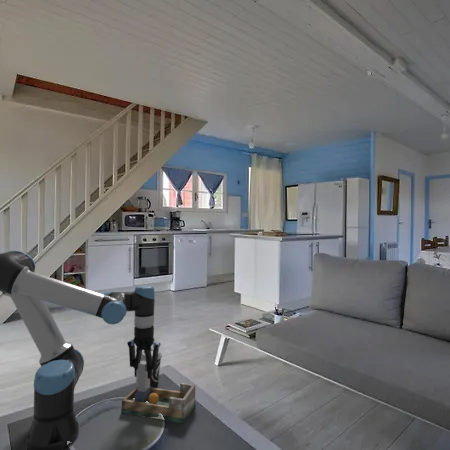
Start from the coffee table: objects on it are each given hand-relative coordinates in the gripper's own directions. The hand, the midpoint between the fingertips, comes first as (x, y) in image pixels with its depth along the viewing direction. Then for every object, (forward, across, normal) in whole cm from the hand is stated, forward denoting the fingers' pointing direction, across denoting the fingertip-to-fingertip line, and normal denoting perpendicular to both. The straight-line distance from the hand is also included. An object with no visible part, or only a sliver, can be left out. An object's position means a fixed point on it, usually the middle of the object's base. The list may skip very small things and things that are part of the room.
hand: (143, 385), depth 125 cm
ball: (+5, -5, 0) cm, 6 cm away
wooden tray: (+8, -7, 0) cm, 11 cm away
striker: (+6, 0, 0) cm, 6 cm away
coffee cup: (+8, +4, -15) cm, 18 cm away
